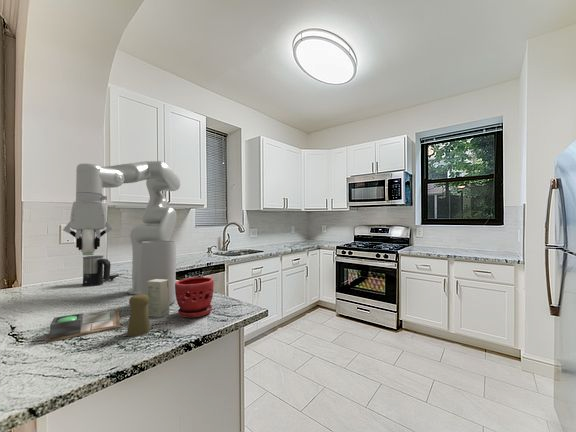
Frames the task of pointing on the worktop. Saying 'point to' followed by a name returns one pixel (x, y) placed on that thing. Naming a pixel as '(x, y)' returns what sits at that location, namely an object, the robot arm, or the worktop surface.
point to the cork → (138, 315)
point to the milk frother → (96, 270)
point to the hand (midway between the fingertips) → (88, 248)
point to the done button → (67, 319)
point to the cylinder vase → (159, 264)
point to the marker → (88, 241)
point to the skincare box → (158, 297)
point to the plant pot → (194, 296)
